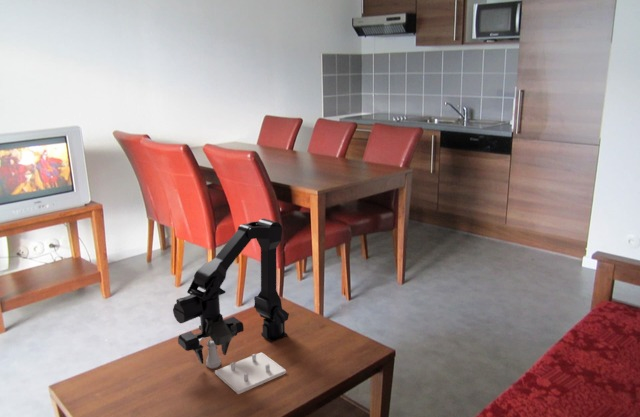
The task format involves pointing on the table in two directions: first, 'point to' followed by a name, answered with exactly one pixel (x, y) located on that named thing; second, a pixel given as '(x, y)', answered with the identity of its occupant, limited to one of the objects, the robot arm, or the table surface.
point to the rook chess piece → (212, 355)
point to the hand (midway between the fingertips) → (213, 358)
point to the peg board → (249, 372)
